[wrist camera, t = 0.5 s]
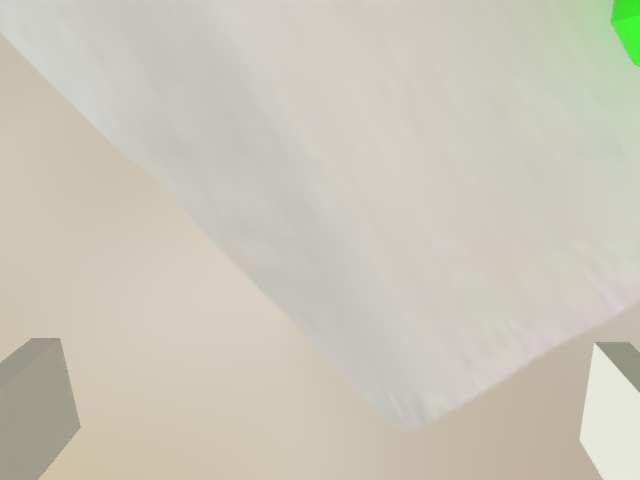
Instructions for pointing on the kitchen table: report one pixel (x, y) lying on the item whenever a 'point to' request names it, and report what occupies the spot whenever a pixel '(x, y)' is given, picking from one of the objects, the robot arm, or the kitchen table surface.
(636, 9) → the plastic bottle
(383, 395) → the kitchen table surface
